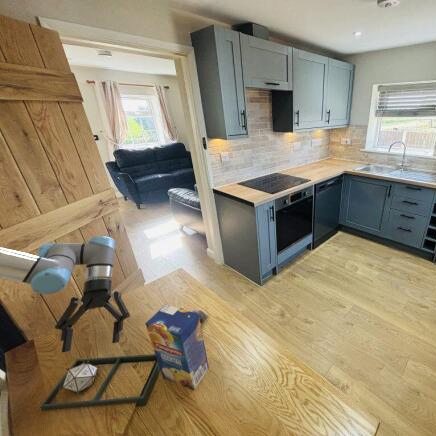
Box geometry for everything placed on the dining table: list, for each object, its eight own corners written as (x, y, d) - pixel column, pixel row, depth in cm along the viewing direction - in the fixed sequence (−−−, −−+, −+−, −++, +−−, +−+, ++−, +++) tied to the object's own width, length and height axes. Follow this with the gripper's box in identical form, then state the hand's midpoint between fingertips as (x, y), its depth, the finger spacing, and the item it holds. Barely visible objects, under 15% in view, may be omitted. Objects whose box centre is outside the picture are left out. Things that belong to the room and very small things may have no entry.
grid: (45, 414, 66) (39, 407, 64) (80, 366, 78) (76, 359, 77) (145, 405, 68) (143, 398, 67) (164, 360, 81) (162, 353, 79)
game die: (91, 397, 73) (77, 401, 64) (62, 390, 72) (44, 393, 63) (110, 364, 78) (99, 364, 70) (84, 356, 77) (69, 355, 69)
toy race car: (178, 310, 101) (175, 298, 98) (207, 321, 96) (205, 308, 94) (159, 327, 93) (156, 315, 90) (190, 340, 88) (187, 327, 85)
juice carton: (209, 367, 79) (198, 314, 69) (194, 390, 72) (180, 334, 62) (179, 357, 82) (165, 304, 72) (162, 378, 75) (144, 323, 66)
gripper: (142, 276, 90) (139, 337, 82) (63, 286, 84) (52, 354, 76) (134, 273, 83) (130, 340, 76) (47, 284, 77) (34, 358, 70)
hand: (91, 347), depth 76 cm, fingers open, 13 cm apart
